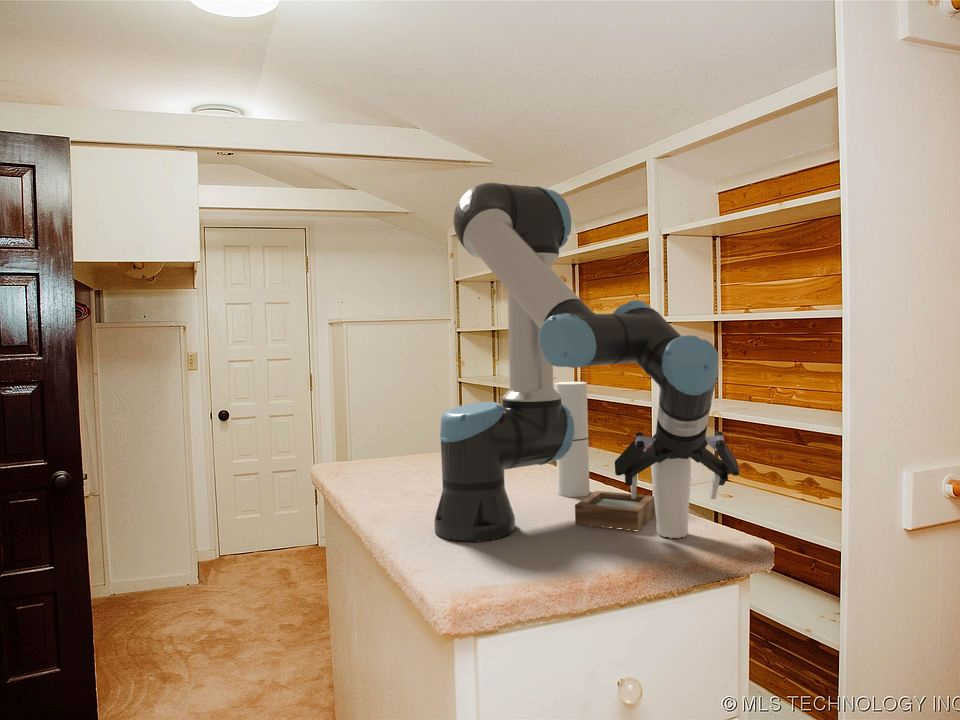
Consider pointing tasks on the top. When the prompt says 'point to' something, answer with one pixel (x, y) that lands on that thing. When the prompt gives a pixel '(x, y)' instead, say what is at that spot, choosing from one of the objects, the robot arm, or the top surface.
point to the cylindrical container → (575, 442)
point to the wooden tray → (615, 510)
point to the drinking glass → (671, 496)
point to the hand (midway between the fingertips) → (672, 492)
